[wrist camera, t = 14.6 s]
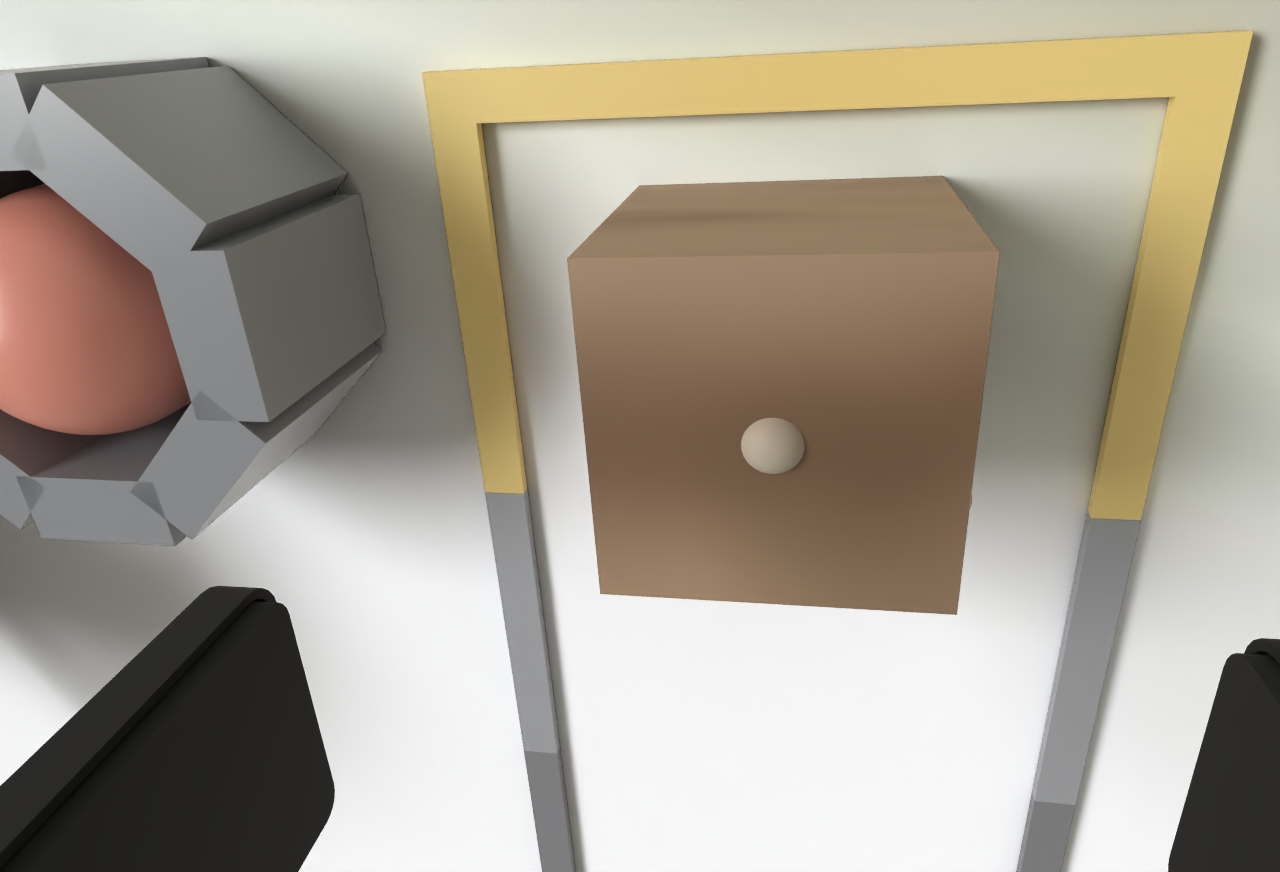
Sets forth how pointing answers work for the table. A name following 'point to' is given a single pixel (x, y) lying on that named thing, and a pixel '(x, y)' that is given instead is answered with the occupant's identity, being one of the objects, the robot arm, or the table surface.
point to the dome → (79, 324)
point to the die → (784, 390)
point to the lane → (856, 79)
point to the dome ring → (191, 288)
